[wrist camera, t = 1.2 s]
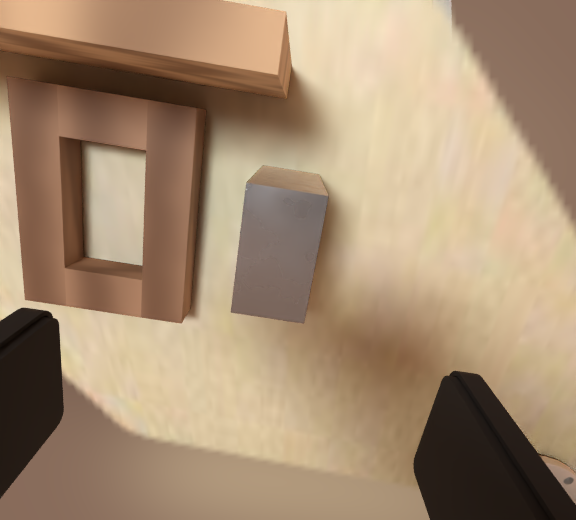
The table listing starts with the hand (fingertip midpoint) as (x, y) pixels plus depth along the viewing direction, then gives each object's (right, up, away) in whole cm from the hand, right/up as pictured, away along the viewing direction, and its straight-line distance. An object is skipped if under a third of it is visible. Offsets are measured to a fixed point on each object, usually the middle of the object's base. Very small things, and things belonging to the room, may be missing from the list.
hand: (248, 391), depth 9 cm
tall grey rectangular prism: (+1, +6, +19) cm, 20 cm away
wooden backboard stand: (-11, +9, +18) cm, 23 cm away
